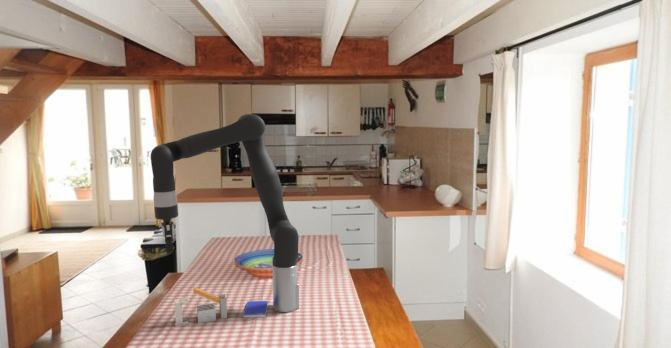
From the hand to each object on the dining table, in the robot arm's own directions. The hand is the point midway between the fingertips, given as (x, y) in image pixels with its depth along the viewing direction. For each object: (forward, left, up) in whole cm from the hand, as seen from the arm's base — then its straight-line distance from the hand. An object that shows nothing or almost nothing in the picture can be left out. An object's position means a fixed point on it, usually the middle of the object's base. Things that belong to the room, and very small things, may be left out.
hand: (169, 249), depth 163 cm
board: (-10, +2, -27) cm, 29 cm away
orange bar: (-12, +2, -19) cm, 23 cm away
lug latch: (-3, +2, -26) cm, 26 cm away
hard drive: (-30, -1, -28) cm, 41 cm away
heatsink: (-11, +2, -27) cm, 29 cm away
